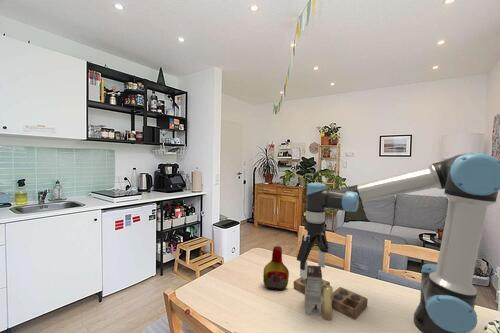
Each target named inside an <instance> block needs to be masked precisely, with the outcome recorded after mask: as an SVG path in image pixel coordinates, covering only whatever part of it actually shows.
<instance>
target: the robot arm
mask: <svg viewBox="0 0 500 333" xmlns="http://www.w3.org/2000/svg"><path fill="white" fill-rule="evenodd" d="M435 188H436V189H438V190H444V193H443V194H444V196H446V197H447V199H448V204H447V210H446V215H445V222H444V227H443V231H442V238H441V243H440V249H439V253H438V259H437V264H435V263H425V264H423V265H422V266H421V271H420V272H421V277H420V278H421V279H420V280H421V282H420V296H419V297H420V300H419V304H418V305H417V307H416V309H415V311H414V313H413V323H414V325H415V326H416V328H417V329H418V330H419V331H420V332H422V333H470V332H472V331H473V330H474V329H476V326H477V324H478V315H477V312H476V310H475V306H476V302H477V296H478V289H477V288H476V287H475V286H474V285H473V278H474V274H475V269H476V263H477V259H478V252H479V249H480V244H481V239H482V234H483V229H484V223H485V220H486V219H485V218H486V216H487V215H486V214H487V209H488V207H489V206H492V205H494V204H496V203H497V198H498V194H499V193H498V192H499V191H500V160H499V159H498V158H497V157H495V156H493V155H489V154H487V153H481V152H469V153H461V154H457V155H455V156H452V157H449V158H447V159H444V160H442V161H438V162H433V163H430V164H429V166H428V167H425V168H421V169H416V170H413V171H409V172H403V173H400V174H395V175H392V176H388V177H384V178H380V179H375V180H371V181H367V182H363V183H359V184H354V185H350V186H349V185H348V186H344V187H342V188H341V189H340V190H339V189H338V190H337V189H328V188H327V184H325V183H321V182H310V183H308V184H307V187H306V194H305V195H306V202H305V203H306V204H305V208H306V209H305V225H304V226H305V227H304V228H305V231H306V232H307V233H306V234H307V235H305V234H302V239H301V244H300V247H299V250H298V254H297V257H296V261H298V262H299V263H300V264H299V276H300V277H303V278H305V279H306V278H307V265H308V263H309V262H308V257H309V256H310V253H311V251H312V249H313V248H314V247H315V245H317V247H318V249H319V251H318V258H317V259H318V261H317V266H321V268H322V269H325V266H326V264H325V263H326V253H329V244H328V238H327V234H326V230H325V220H326V218H325V217H326V209H328V210H329V209H331V210H336V211H343V212H347V213H348V212H353V213H354V212H355V213H357V211H358V209H359V204H360V203H361V204H362V203H365V202H371V201H374V200H379V199H385V198H389V197H393V196H400V195H405V194H410V193H416V192H420V191H424V190H426V191H427V190H430V189H435Z"/></svg>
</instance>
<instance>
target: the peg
mask: <svg viewBox="0 0 500 333" xmlns="http://www.w3.org/2000/svg"><path fill="white" fill-rule="evenodd" d="M333 289H334V288H333V286H331V285H330V286H329V285H324V286H323V295H322V301H321V317H322V319H323V320H324V321H331V320H332V319H333V308H332V294H333V292H334V291H333Z"/></svg>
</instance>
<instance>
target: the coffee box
mask: <svg viewBox="0 0 500 333" xmlns="http://www.w3.org/2000/svg"><path fill="white" fill-rule="evenodd" d="M322 279H323V275H322V267H321V266H318V265H312V264H311V265H310V264H309V265H308V264H307V278H306V279H305V294H304V312H305V314H308V315H313V316H321V317H322V296H323V295H322ZM321 295H322V296H321Z"/></svg>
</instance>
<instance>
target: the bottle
mask: <svg viewBox="0 0 500 333" xmlns="http://www.w3.org/2000/svg"><path fill="white" fill-rule="evenodd" d="M272 249H273V250H272V256H271V260H270V261H269V262H268V263H267V264H266V265H265V266H264V267H263V275H262V276H263V284H264V286H265V287H266V288H267V289H269V290H276V291H282V290H285V289H286V288H287V287H288V285H289V277H290V271H289V268H288V267H287V266H286V265H285V264H284V263H283V250H282V247H281V246H280V245H276V246H274V247H273V248H272Z"/></svg>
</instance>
